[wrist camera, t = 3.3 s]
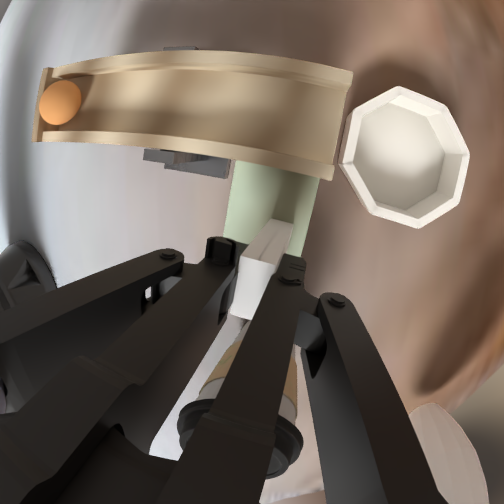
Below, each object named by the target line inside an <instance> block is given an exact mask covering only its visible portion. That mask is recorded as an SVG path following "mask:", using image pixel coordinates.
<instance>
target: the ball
mask: <svg viewBox="0 0 504 504" xmlns="http://www.w3.org/2000/svg"><path fill="white" fill-rule="evenodd" d="M80 105H81V92H80V89H79V88H78V86H77V85H76V84H74V83H73V82H71V81H67V80H62V81H58V82H55V83H53V84H51V85H50V86H49V87H48V88H47V89H46V90H45V91H44V93H43V94H42V96H41V99H40V102H39V111H40V114H41V116H42V118H43V119H44V120H45V121H46V122H47V123H50V124H53V125H59V124H63V123H66V122H68V121H69V120H71V119H72V118H73V117H74V116H75V115H76V113H77V112H78V110H79V108H80Z"/></svg>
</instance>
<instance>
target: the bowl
mask: <svg viewBox="0 0 504 504" xmlns="http://www.w3.org/2000/svg"><path fill="white" fill-rule="evenodd" d="M469 154H470V153H469V151H468V148H467V146H466V144H465V142H464V140H463V137H462V135H461V133H460V131H459V129H458V127H457V125H456V123H455V121H454V119H453V117H452V115H451V114H450V112H449V110H448V108H447V106H446V107H445V105H444V104H442V103H440V102H437V101H435V100H433V99H431V98H428V97H426V96H424V95H421V94H419V93H416V92H414V91H411V90H409V89H406V88H403V87H401V86H396V87H394V88H392V89H390V90H388V91H386V92H384V93H383V94H381V95H379V96H377V97H375V98H373V99H371V100H369V101H368V102H366V103H364V104H362V105H360V106H358V107H357V108H355V109H354V110H353V111H352V112H351V113H350V114H349V115H348V116H347V119H346V124H345V129H344V134H343V139H342V143H341V148H340V153H339V157H338V162H339V163H338V164H339V166H340V168H341V169H342V171H343V173H344V174H345V176H346V178H347V179H348V181H349V183H350V185H351V186H352V188H353V190H354V192H355V193H356V195H357V197H358V199H359V200H360V202H361V204H362V205H363V206H364V207H365V208H366V209H367V210H368V211H369V213H371V214H372V215H375V216H379V217H382V218H385V219H389V220H392V221H395V222H398V223H401V224H405V225H408V226H411V227H414V228H417V229H418V228H419V229H420V228H421V227H423V226H425V225H426V224H428V223H429V222H431V221H433V220H434V219H436V218H438V217H439V216H441V215H442V214H444V213H446V212H447V211H449V210H450V209H452V208H453V207H455V206H457V205H458V203H459V201H460V197H461V193H462V189H463V185H464V181H465V177H466V172H467V168H468V163H469V158H470V155H469Z"/></svg>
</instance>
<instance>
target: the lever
mask: <svg viewBox="0 0 504 504" xmlns="http://www.w3.org/2000/svg"><path fill="white" fill-rule="evenodd" d="M352 78H353V72H351V71H347V70H343V69H340V68H336V67H331V66H327V65H323V64H318V63H313V62H308V61H303V60H298V59H292V58H286V57H279V56H272V55H264V54H255V53H245V52H232V51H211V50H176V51H155V52H143V53H133V54H124V55H116V56H110V57H103V58H97V59H92V60H87V61H82V62H77V63H73V64H68V65H64V66H60V67H56V68H50V67H48V68H45V69H43V71H42V76H41V81H40V85H39V91H38V96H37V102H36V108H35V115H34V123H33V132H32V142H84V143H102V144H116V145H128V146H139V147H149V148H158V149H166V150H174V151H182V152H189V153H196V154H203V155H209V156H215V157H221V158H227V159H233V160H236V163H235V168H234V174H233V180H232V185H231V191H230V197H229V203H228V209H227V215H226V221H225V227H224V234H223V237H226V238H230V239H233V240H235V241H237V242H241V243H245V244H250V243H251V242H252V241H253V240H254V238H255V237H256V236H257V235H258V233H259V232H260V231H261V230H262V228H263V227H264V226H265V225H266V224H267V222H268V221H269V220H270V219H271V218H272V219H276V220H280V221H284V222H288V223H292V224H294V225H293V229H292V234H291V238H290V242H289V246H288V250H287V254H290V255H293V256H297V257H301V253H302V249H303V245H304V242H305V238H306V234H307V230H308V226H309V222H310V218H311V214H312V210H313V206H314V202H315V198H316V193H317V189H318V185H319V181H320V178H321V179H325V180H329V181H332V177H333V173H334V169H335V166H333V165H332V162H333V158H334V153H335V149H336V144H337V139H338V135H339V130H340V125H341V120H342V115H343V109H344V104H345V99H346V93H347V91H348V90H349V88H350V87H351V84H352ZM62 80H67V81H71V82H73V83H74V84H76V85H77V86H78V88H79V89H80V92H81V105H80V108H79V110H78V112H77V113H76V115H75V116H74V117H73V118H72V119H71V120H69V121H68V122H66V123H63V124H59V125H53V124H50V123H47V122H46V121H45V120H44V119H43V118H42V116H41V114H40V111H39V102H40V99H41V96H42V94H43V93H44V91H45V90H46V89H47V88H48V87H49V86H50V85H51V84H53V83H55V82H58V81H62Z"/></svg>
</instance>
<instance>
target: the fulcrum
mask: <svg viewBox="0 0 504 504" xmlns="http://www.w3.org/2000/svg"><path fill="white" fill-rule="evenodd" d="M176 50H199V49H198V48H197V47H167V48H164V50H163V51H176ZM143 160H147V161H154V162H161V163H165V167H164V168H166V169H172V170H178V171H184V172H190V173H196V174H201V175H207V176H212V177H217V178H223V179H226V178H228V172H229V167H230V161H231V159H227V158H221V157H215V156H209V155H203V154H196V153H189V152H182V151H174V150H166V149H158V148H151V149H144V157H143Z"/></svg>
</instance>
